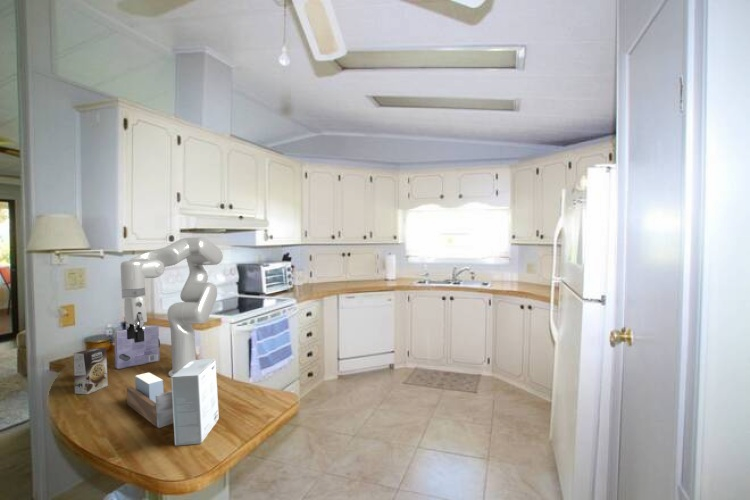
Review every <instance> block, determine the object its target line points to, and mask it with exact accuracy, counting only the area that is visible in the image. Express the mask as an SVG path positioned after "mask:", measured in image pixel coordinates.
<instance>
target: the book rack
mask: <svg viewBox="0 0 750 500" xmlns="http://www.w3.org/2000/svg"><path fill="white" fill-rule="evenodd" d="M126 400H127V402H126V404H127V405H128V407H130V408H131V409H132V410H134V411H135V412H137V413H138V414H139V415H141V416H142V418H144V419H145V420H147V421H148V422H149V423H151V424H152V425H153V426H155V427H157V428H158V429H160V428H163V427H166V426H169V425H171V424H174V419H173V400H172V389H171V390H168V391H165V392H164V391H163V393H161V394H157V395H156V403H155V402H154V401H152V400H151V399H149V398H148V397H146V396H145V395H143V394H142V393H140V392H139V391H137V390H136V388H134V387H133V386H128V387H126Z"/></svg>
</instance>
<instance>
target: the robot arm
mask: <svg viewBox="0 0 750 500" xmlns="http://www.w3.org/2000/svg"><path fill="white" fill-rule="evenodd" d="M183 260H186V262H187V266H188V271H189V273H188V277H187V278H186V281H185V283H184V285H183V287H182V289H181V292H180V300H181V301H182V302H175V303H172V304H171V305H170V306H169V307H168V309H167V313H166V315H167V319H168V324H169V328H170V329H169V330H170V344H171V345H170V347H171V370H169V371H168V376H169V377H170V378H171V377H172V376H173V375H174V374H176V373H177V372H178V371H179V370H181V369H182V368H183V367H184V366H185V365H187V364H188V363H189V362H190V361H192V360H197V358H196V334H195V330H194V327H193V326H192V325H194V324H195V325H199V324H205V322H206V321H207V320H208V319H209V317H210V315H211V312H212V310H213V308H214V305H215V303H216V301H217V297H218V288H217V286H216V285H215V284H214V282H213V283H212V282H208V280H209V275H208V273H207V271H206V269H205V268H204V266H217V265H219V264H220V263H222V260H223V252H222V250H221V249H220V248H219V247H218V246H217V245H215V243H213V242H212V241H210V240H208V239H206V238H205V237H202V236H201V237H200V236H198V237H183V238H180V239H179V240H176V241H174V242H172V243H171V244H169V245H167V246H165V247H161V248H157V249H154V250H151V251H147V252H144V253H141V254H139V255H137V256H134V257H133V258H130V259H129V260H126V261H121V263H120V284H121V287H120V288H121V299H124V302H123V303H124V306H123V307H124V321H125V323H126V330H127V339H128V340H129V339H134V342H135V343H137V342H142V341H144V327H145V324H146V323H147V322H148V317H147V316H148V315H147V306H146V301H145V297H146V279H157V278H159V277H161V276H163V274H164V273H165V270H166V268H167V267H172V266H175V265H177V264H179V263H180V262H182V261H183Z"/></svg>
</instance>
